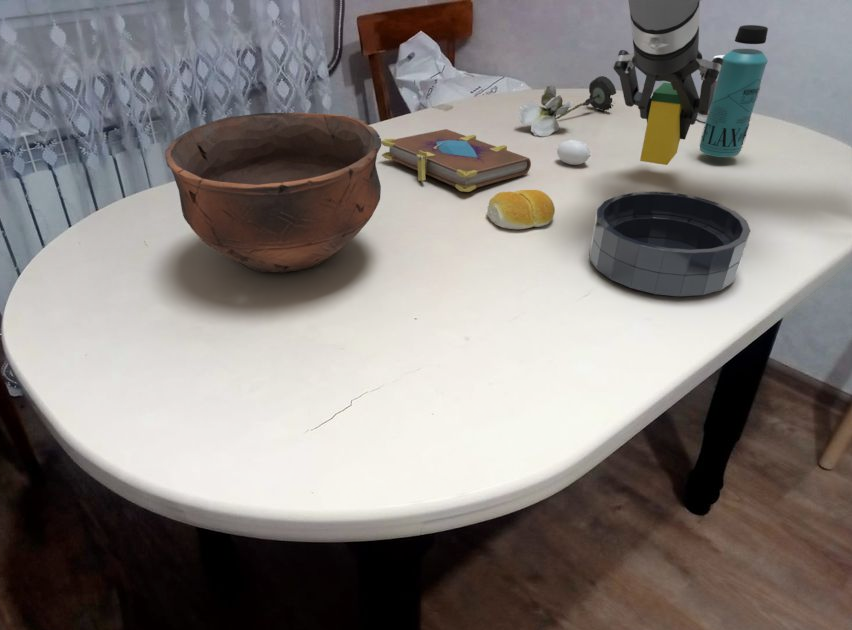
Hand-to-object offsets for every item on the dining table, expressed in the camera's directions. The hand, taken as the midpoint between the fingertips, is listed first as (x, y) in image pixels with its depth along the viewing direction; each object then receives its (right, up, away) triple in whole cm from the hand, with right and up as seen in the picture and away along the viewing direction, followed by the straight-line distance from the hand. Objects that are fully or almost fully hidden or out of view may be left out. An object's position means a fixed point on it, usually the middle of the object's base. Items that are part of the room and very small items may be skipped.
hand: (669, 128), depth 101 cm
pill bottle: (+19, +10, +24) cm, 32 cm away
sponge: (-2, -5, -1) cm, 5 cm away
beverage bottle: (+11, -3, +7) cm, 13 cm away
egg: (-13, -4, +7) cm, 15 cm away
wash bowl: (-10, -24, -21) cm, 33 cm away
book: (-34, -4, +8) cm, 35 cm away
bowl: (-56, -22, -17) cm, 63 cm away
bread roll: (-25, -16, -9) cm, 31 cm away
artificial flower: (-9, +10, +25) cm, 28 cm away
